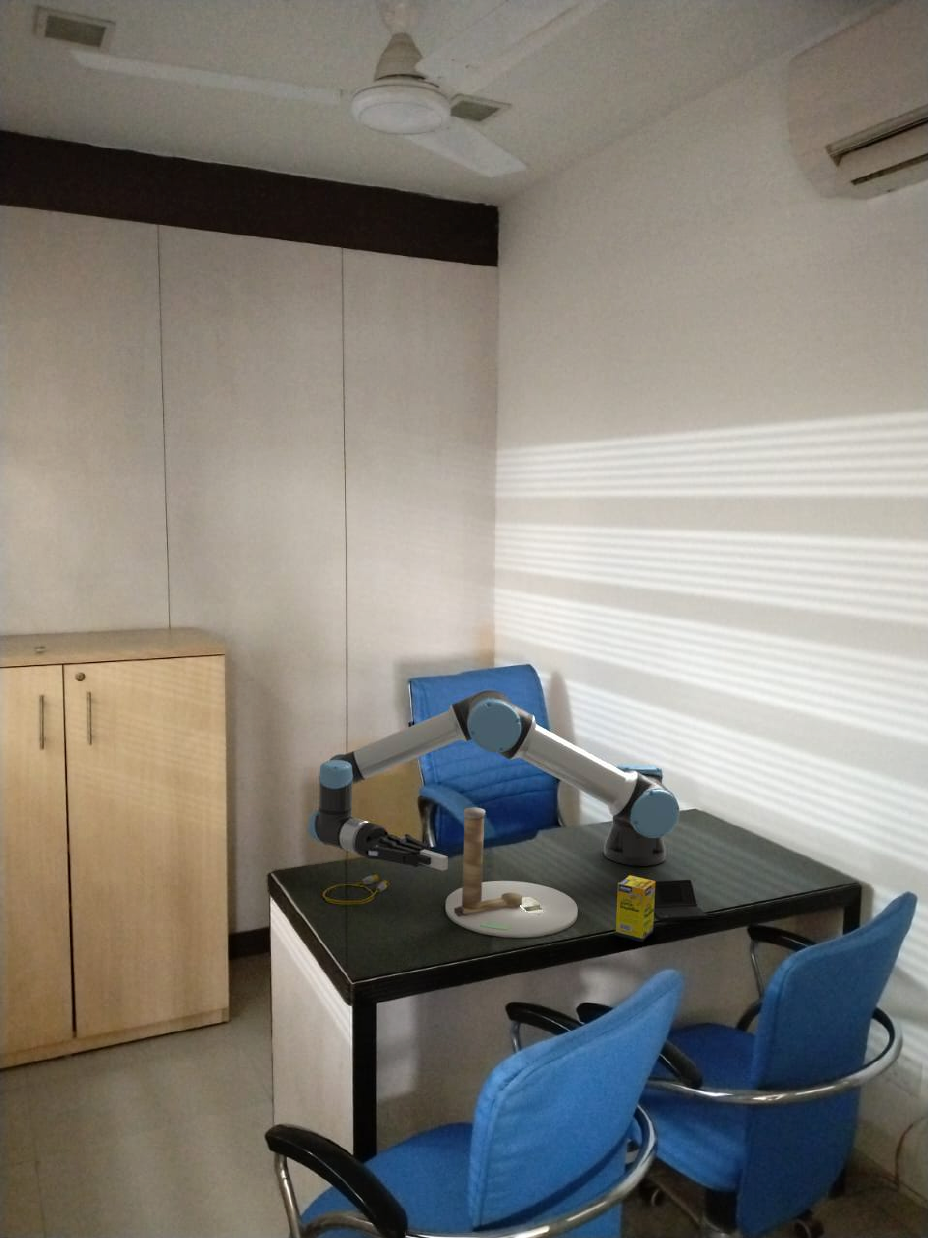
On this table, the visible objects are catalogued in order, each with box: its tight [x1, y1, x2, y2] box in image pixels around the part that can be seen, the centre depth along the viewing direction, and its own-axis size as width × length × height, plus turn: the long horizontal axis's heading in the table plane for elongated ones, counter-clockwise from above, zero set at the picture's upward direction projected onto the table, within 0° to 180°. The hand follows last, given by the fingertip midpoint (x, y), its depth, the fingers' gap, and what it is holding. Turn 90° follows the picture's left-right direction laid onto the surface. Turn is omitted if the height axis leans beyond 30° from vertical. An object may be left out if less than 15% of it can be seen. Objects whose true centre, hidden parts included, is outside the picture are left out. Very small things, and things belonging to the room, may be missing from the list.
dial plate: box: [445, 880, 579, 939], centre depth 213 cm, size 28×28×1 cm
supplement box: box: [614, 875, 656, 943], centre depth 202 cm, size 6×6×11 cm
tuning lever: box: [454, 807, 522, 915], centre depth 208 cm, size 16×4×21 cm, turn 121°
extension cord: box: [322, 874, 390, 906], centre depth 220 cm, size 12×16×2 cm
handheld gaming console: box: [654, 879, 708, 923], centre depth 214 cm, size 12×7×10 cm
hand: (445, 863), depth 211 cm, fingers closed
